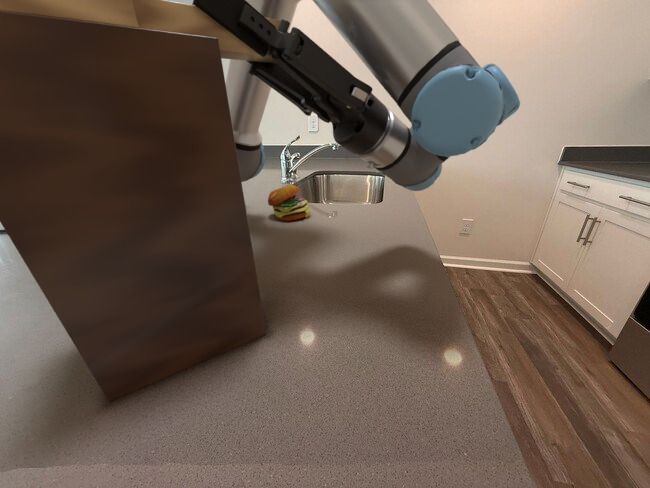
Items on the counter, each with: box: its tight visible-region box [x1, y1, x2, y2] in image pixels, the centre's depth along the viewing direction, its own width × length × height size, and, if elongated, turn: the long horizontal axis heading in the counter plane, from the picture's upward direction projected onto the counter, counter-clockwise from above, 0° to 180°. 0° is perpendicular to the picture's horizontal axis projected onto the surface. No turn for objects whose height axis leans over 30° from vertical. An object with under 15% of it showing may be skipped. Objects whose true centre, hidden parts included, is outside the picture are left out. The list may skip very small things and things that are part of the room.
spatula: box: [0, 0, 281, 63], centre depth 22 cm, size 22×11×3 cm, turn 122°
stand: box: [0, 11, 267, 402], centre depth 27 cm, size 16×12×30 cm
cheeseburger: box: [267, 183, 311, 222], centre depth 71 cm, size 10×11×10 cm
